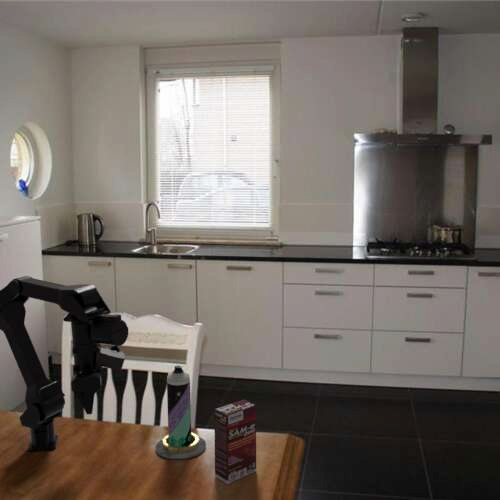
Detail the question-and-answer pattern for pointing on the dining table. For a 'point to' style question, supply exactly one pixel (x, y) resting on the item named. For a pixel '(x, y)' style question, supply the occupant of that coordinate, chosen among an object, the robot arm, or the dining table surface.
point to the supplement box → (235, 441)
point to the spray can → (179, 408)
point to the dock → (181, 448)
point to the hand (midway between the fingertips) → (90, 406)
